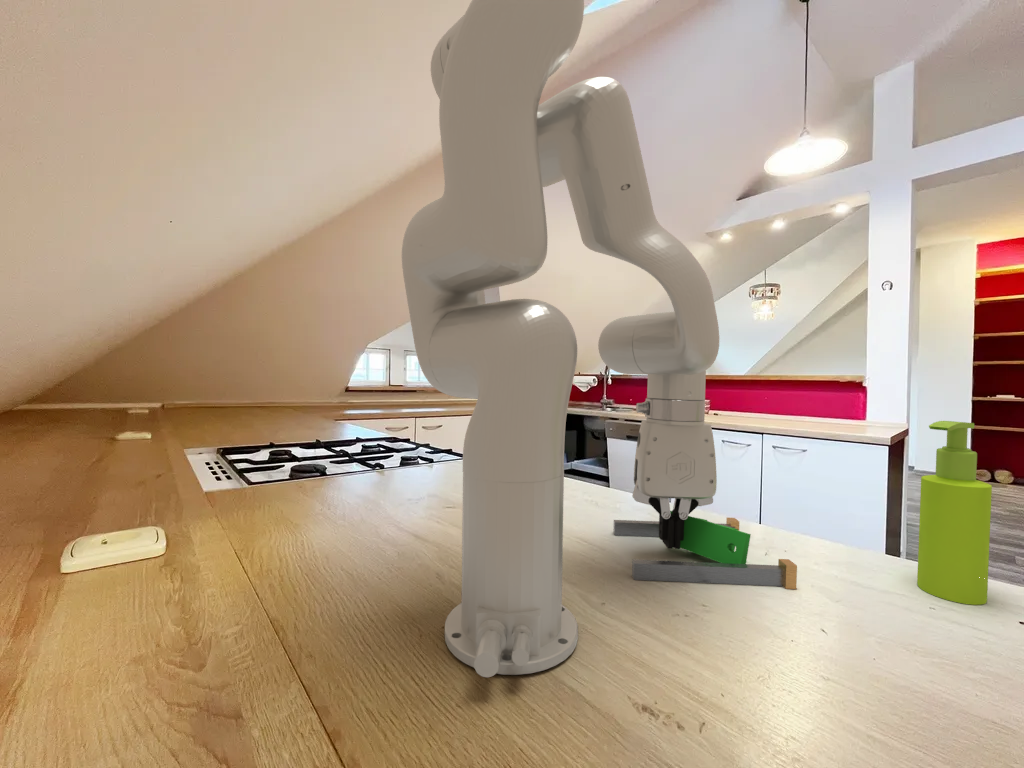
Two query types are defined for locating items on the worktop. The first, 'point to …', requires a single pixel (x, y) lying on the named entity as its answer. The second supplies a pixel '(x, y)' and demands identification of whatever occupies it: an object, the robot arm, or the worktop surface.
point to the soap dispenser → (954, 523)
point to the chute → (704, 564)
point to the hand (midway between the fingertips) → (670, 544)
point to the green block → (715, 541)
